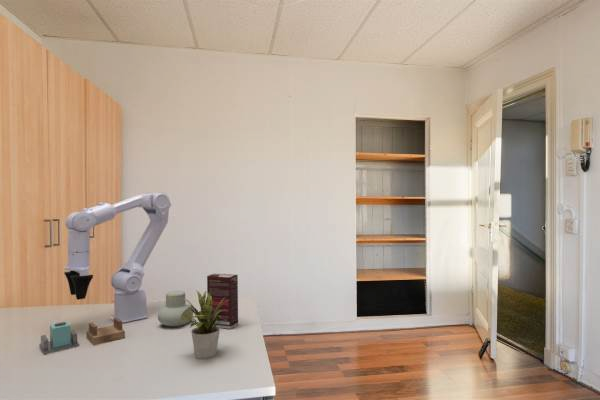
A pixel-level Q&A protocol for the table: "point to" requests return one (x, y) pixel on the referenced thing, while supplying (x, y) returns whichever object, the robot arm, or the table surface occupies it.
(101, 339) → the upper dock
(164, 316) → the air freshener
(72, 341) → the lower dock
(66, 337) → the plug
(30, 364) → the table surface
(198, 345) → the house plant
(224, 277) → the supplement box
